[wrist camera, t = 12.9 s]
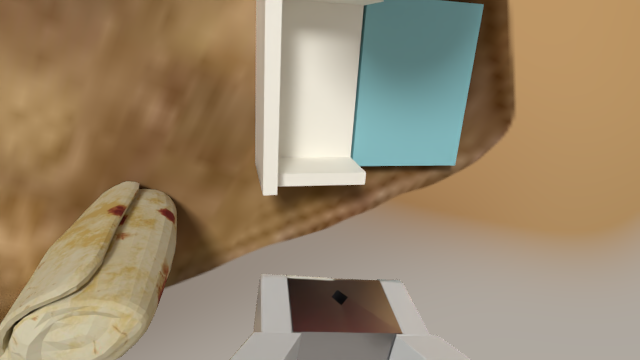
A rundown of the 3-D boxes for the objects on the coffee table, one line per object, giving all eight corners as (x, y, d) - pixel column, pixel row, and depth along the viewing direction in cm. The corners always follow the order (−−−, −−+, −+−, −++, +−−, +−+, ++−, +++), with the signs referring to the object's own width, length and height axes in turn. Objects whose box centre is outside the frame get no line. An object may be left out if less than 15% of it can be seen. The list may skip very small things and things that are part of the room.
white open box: (255, 163, 42) (263, 195, 34) (256, -17, 36) (265, -31, 28) (344, 162, 44) (372, 192, 36) (358, -7, 38) (395, -18, 30)
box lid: (352, 166, 42) (454, 165, 45) (367, -7, 37) (483, 4, 39) (347, 160, 44) (446, 160, 47) (361, -5, 38) (472, 5, 41)
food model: (100, 248, 41) (1, 420, 23) (71, 191, 39) (-66, 333, 20) (194, 220, 42) (171, 363, 24) (172, 163, 40) (128, 274, 22)
